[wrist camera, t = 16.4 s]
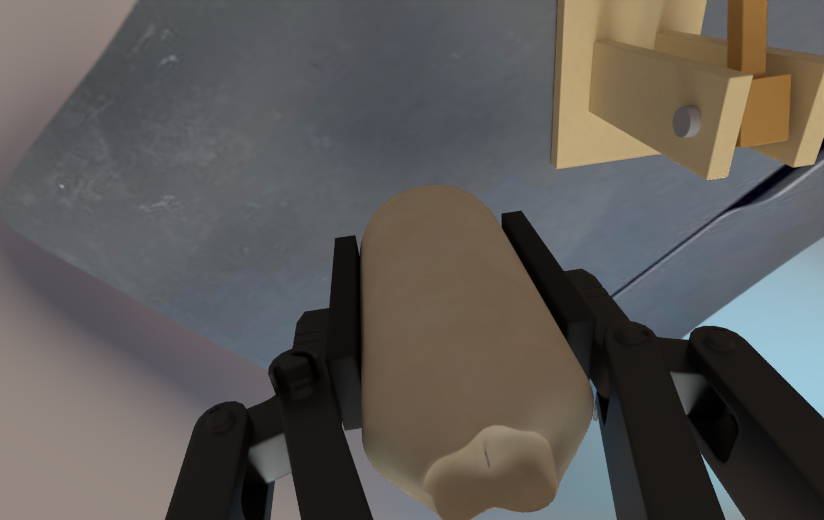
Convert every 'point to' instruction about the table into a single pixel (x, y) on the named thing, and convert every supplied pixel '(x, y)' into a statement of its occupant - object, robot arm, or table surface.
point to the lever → (757, 75)
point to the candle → (462, 361)
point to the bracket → (666, 89)
